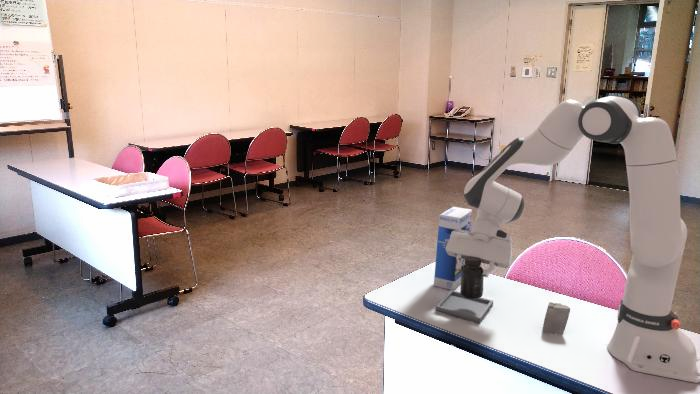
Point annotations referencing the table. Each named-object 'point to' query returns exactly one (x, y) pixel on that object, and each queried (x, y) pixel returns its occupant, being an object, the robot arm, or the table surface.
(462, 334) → the table surface
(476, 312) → the tray
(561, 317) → the mineral specimen
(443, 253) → the string lights box
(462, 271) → the supplement bottle
